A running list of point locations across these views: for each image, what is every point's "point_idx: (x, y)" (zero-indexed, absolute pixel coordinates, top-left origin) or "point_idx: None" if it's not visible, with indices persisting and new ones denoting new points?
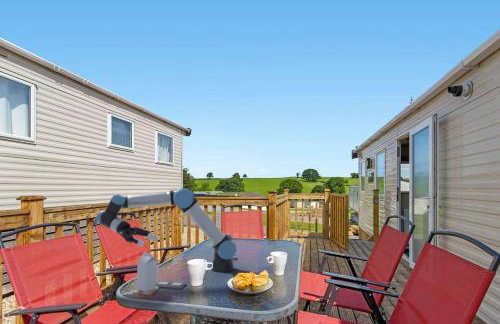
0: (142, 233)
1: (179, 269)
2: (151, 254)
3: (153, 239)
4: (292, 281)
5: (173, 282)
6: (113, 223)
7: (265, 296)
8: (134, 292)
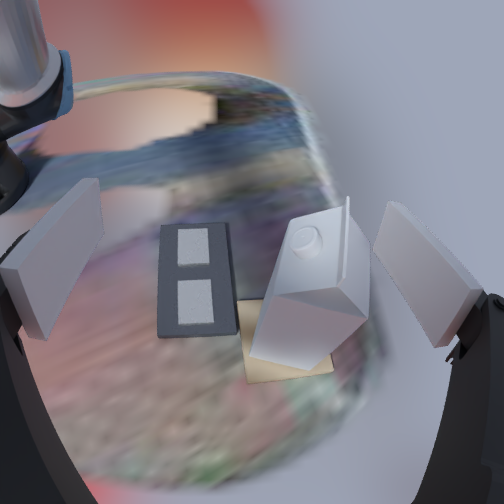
0: (29, 400)
1: None
2: (348, 203)
3: (86, 240)
4: (122, 77)
5: (169, 269)
6: None
7: (218, 90)
8: (331, 363)
